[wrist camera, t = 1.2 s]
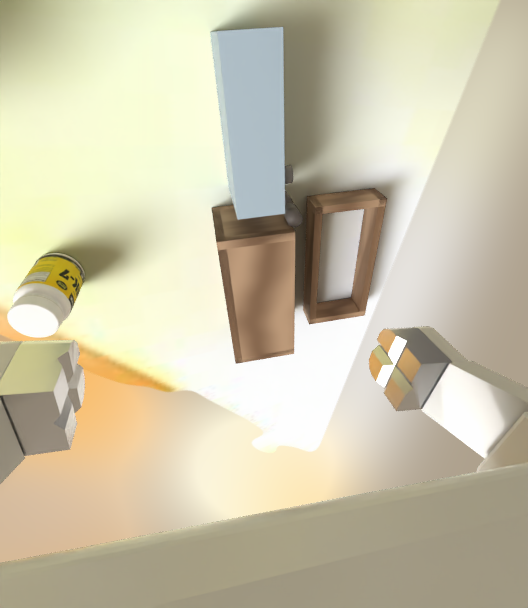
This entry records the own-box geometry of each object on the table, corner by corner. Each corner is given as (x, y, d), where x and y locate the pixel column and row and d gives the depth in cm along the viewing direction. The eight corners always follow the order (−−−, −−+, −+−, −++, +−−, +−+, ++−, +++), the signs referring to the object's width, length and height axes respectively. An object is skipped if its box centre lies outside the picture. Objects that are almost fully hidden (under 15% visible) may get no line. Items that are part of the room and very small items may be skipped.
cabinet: (376, 175, 35) (413, 202, 30) (355, 301, 46) (379, 339, 41) (209, 194, 33) (214, 227, 28) (229, 321, 45) (235, 363, 39)
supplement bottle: (92, 284, 38) (73, 336, 31) (49, 291, 37) (20, 345, 31) (73, 247, 34) (47, 296, 28) (26, 255, 34) (-11, 306, 28)
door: (273, 27, 26) (299, 25, 20) (277, 180, 34) (296, 212, 28) (210, 31, 26) (217, 31, 20) (228, 185, 33) (237, 219, 27)
